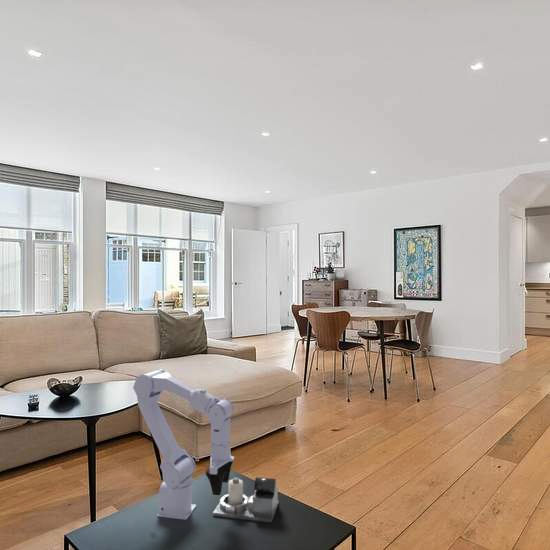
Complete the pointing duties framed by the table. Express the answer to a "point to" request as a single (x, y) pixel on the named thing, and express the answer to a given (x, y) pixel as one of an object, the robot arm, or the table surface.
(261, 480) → the grey machine
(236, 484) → the white bottle
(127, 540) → the table surface
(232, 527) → the table surface
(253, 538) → the table surface
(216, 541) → the table surface
